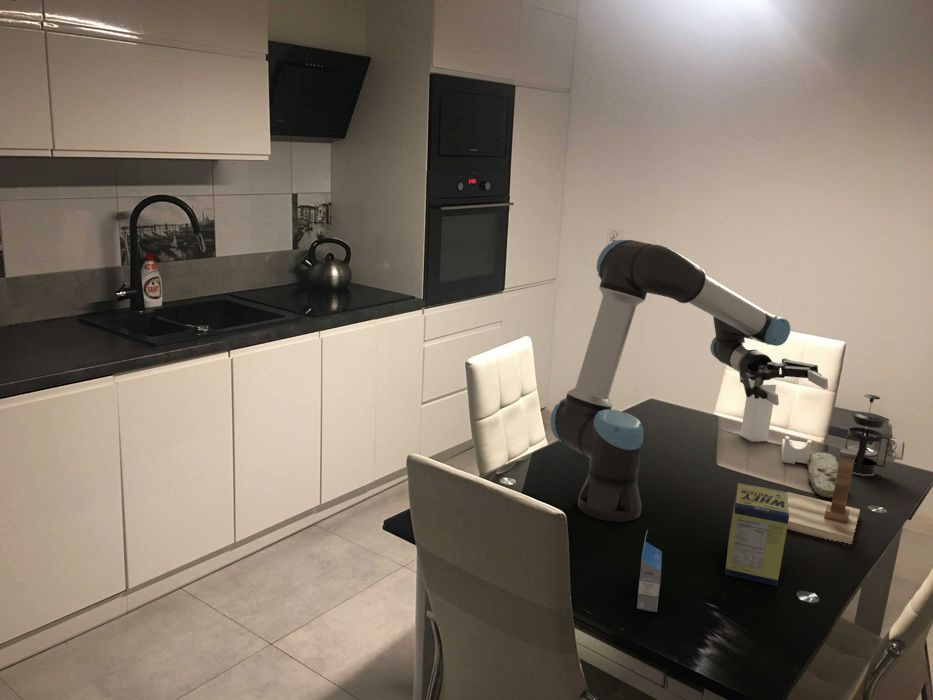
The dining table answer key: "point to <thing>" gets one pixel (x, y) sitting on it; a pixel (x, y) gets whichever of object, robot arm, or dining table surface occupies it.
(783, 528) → the protein box
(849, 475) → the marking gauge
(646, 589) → the label tape box
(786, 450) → the bracket
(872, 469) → the french press
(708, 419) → the dining table surface
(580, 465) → the dining table surface
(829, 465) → the elongated rock
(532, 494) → the dining table surface
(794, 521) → the pine board
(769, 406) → the milk
